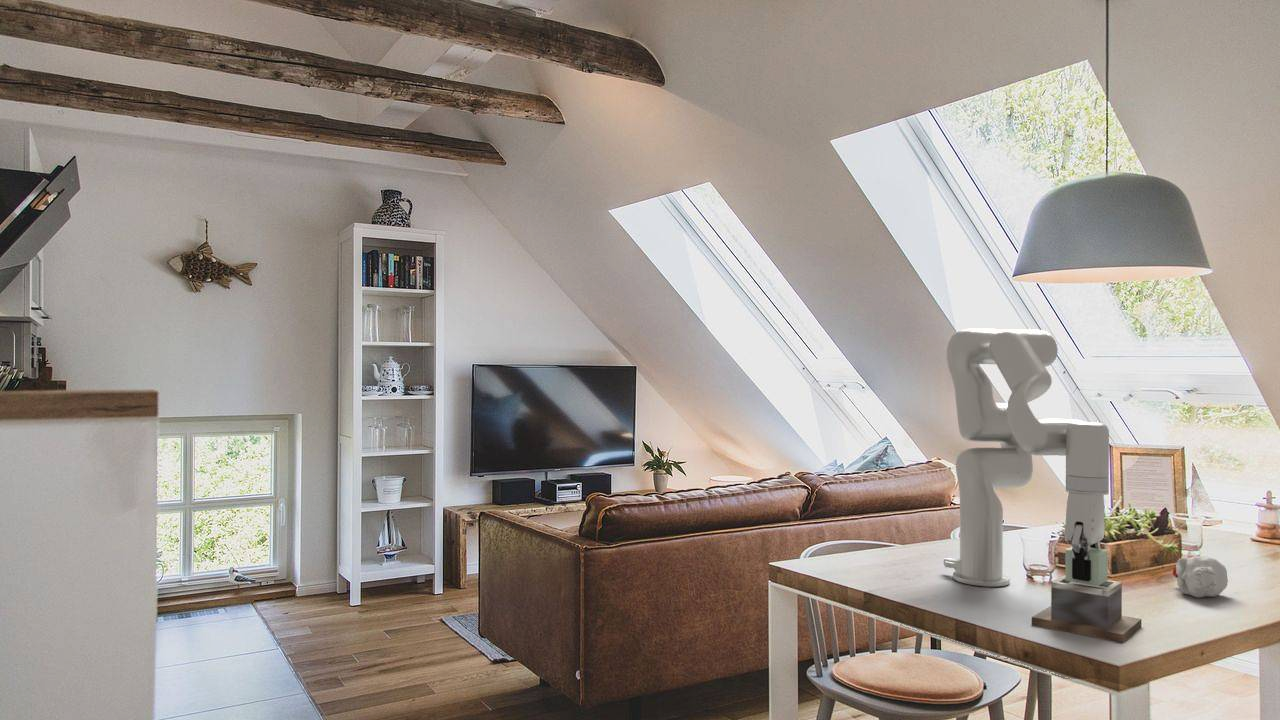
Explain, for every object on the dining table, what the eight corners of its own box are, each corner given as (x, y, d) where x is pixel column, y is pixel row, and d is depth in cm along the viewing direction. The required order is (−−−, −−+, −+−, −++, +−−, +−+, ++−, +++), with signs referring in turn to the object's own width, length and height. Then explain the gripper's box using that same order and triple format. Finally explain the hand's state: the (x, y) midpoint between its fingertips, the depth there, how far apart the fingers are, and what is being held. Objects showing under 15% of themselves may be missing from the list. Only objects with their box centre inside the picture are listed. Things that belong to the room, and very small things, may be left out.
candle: (1200, 600, 186) (1154, 591, 201) (1249, 600, 187) (1200, 591, 202) (1196, 558, 187) (1151, 552, 202) (1245, 557, 188) (1196, 552, 203)
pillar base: (1031, 624, 168) (1031, 581, 168) (1054, 610, 179) (1054, 569, 179) (1122, 642, 157) (1122, 596, 158) (1141, 626, 168) (1141, 583, 168)
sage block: (1065, 580, 168) (1065, 549, 168) (1074, 575, 172) (1074, 545, 173) (1098, 585, 164) (1099, 554, 164) (1107, 580, 168) (1107, 550, 168)
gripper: (1079, 479, 177) (1078, 566, 177) (1052, 487, 165) (1051, 581, 164) (1119, 483, 172) (1119, 573, 172) (1095, 491, 160) (1094, 588, 159)
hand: (1086, 576), depth 168 cm, fingers closed on sage block, 5 cm apart
